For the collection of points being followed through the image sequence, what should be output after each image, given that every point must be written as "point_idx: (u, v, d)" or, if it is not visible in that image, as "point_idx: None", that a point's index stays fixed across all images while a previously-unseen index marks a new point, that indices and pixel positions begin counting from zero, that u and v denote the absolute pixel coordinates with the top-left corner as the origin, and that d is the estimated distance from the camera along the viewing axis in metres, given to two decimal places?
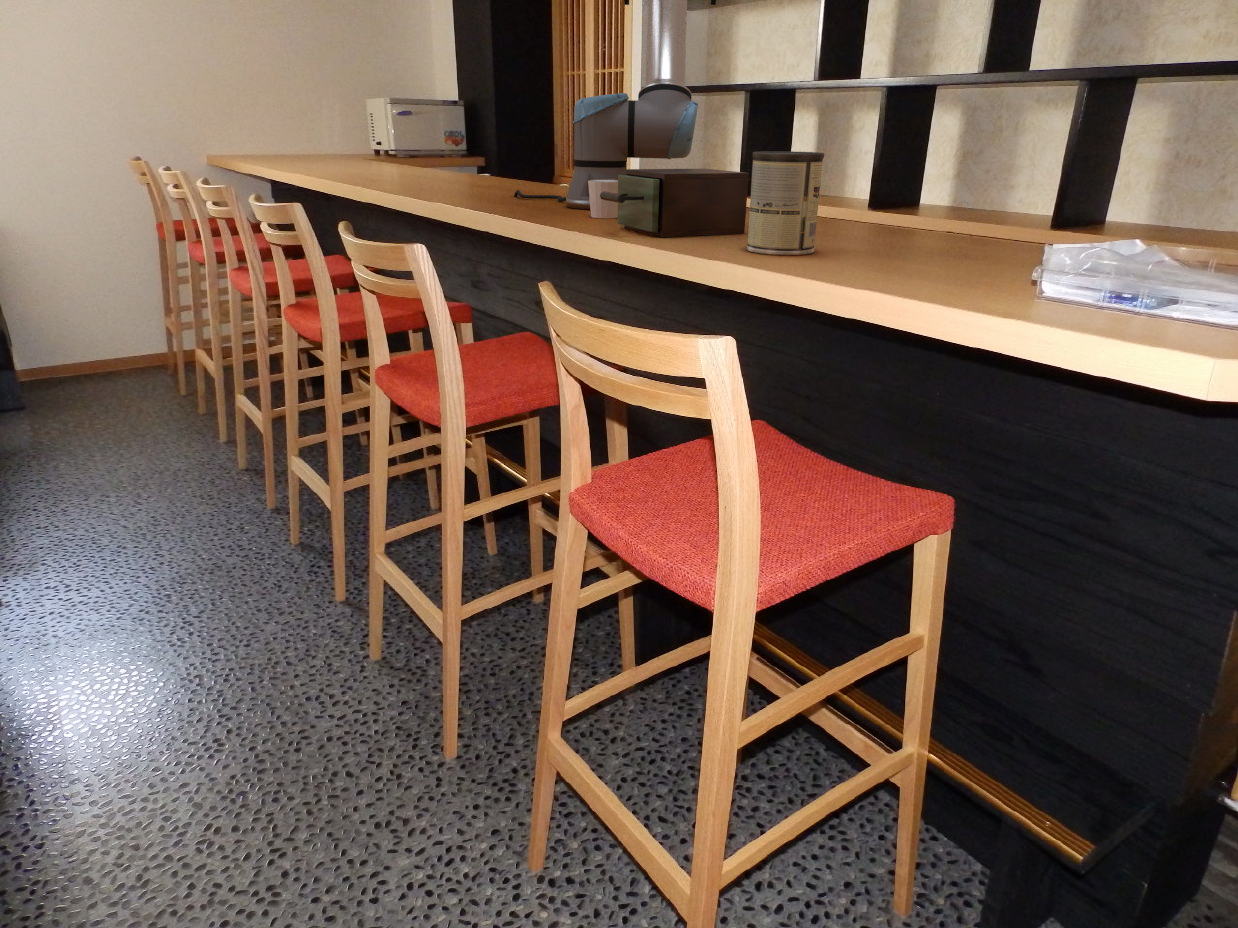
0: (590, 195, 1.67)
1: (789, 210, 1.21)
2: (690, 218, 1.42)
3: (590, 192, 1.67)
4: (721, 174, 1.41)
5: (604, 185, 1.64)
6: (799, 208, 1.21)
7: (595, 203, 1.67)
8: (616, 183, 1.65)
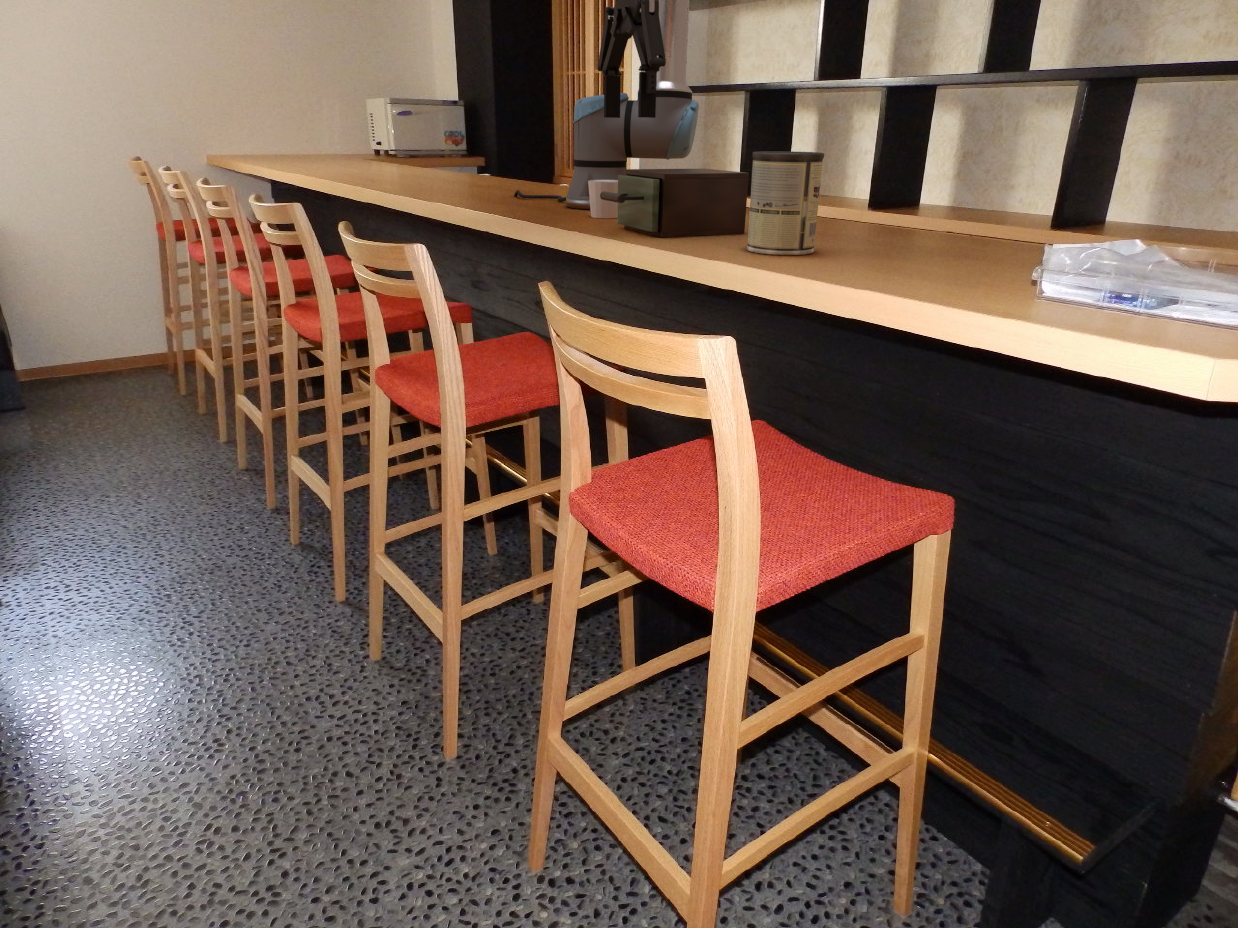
0: (590, 195, 1.67)
1: (789, 210, 1.21)
2: (690, 218, 1.42)
3: (590, 192, 1.67)
4: (721, 174, 1.41)
5: (604, 185, 1.64)
6: (799, 208, 1.21)
7: (595, 203, 1.67)
8: (616, 183, 1.65)
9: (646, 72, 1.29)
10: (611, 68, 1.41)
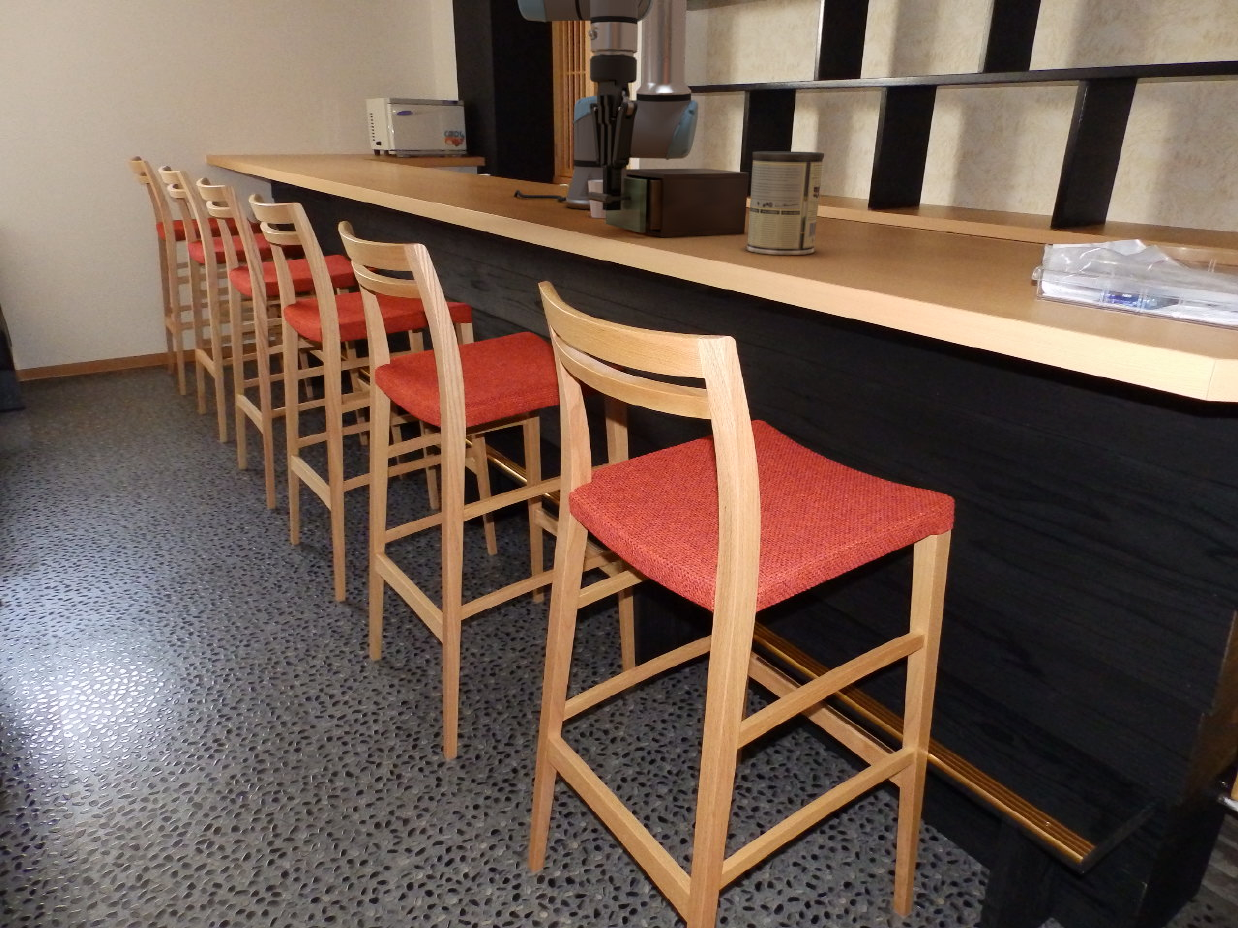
0: None
1: (789, 210, 1.21)
2: (690, 218, 1.42)
3: None
4: (721, 174, 1.41)
5: None
6: (799, 208, 1.21)
7: (595, 203, 1.67)
8: None
9: None
10: None
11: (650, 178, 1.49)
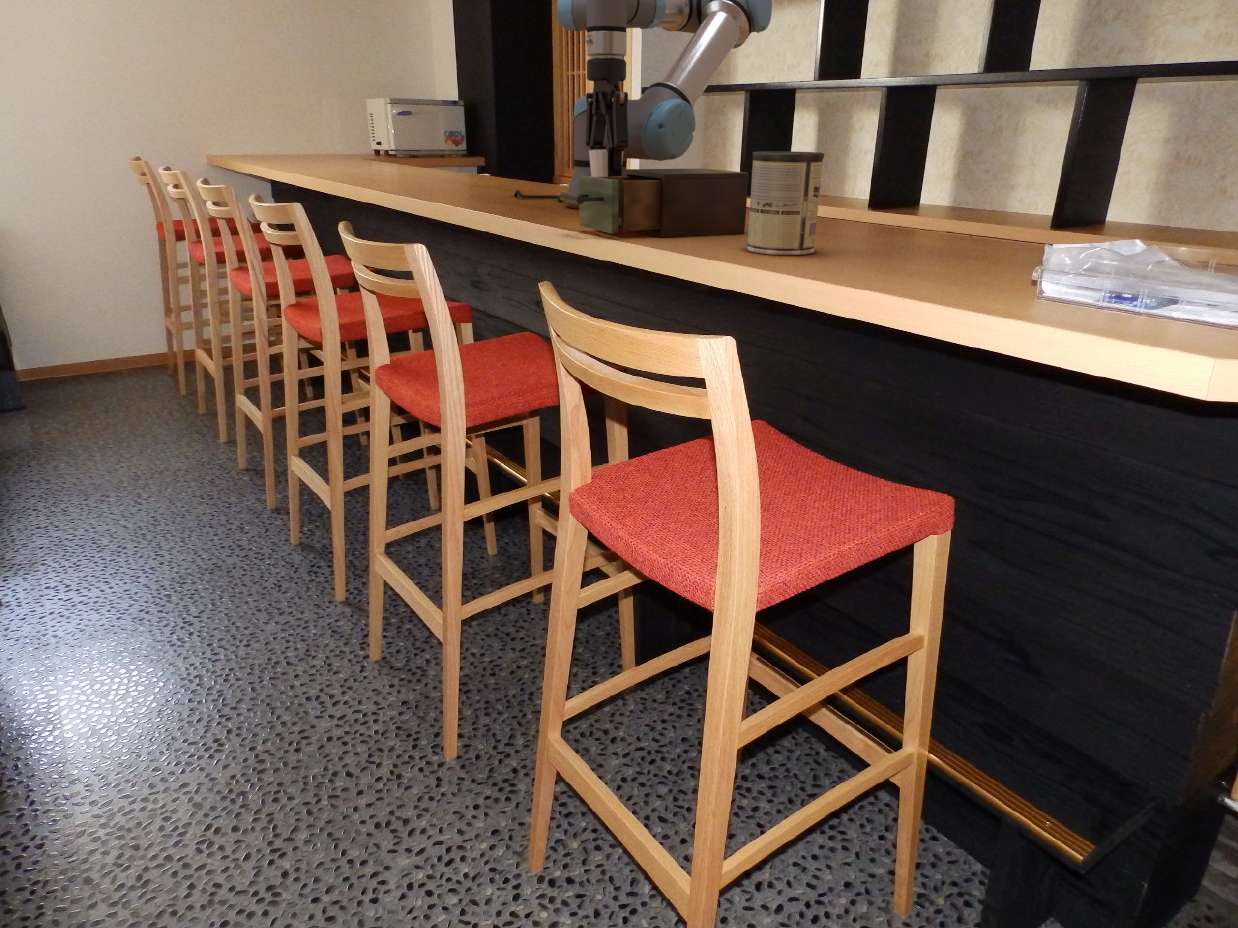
0: (591, 165, 1.65)
1: (789, 210, 1.21)
2: (690, 218, 1.42)
3: (591, 162, 1.65)
4: (721, 174, 1.41)
5: (606, 154, 1.62)
6: (799, 208, 1.21)
7: (596, 173, 1.65)
8: None
9: (612, 152, 1.62)
10: (597, 144, 1.69)
11: (624, 178, 1.47)
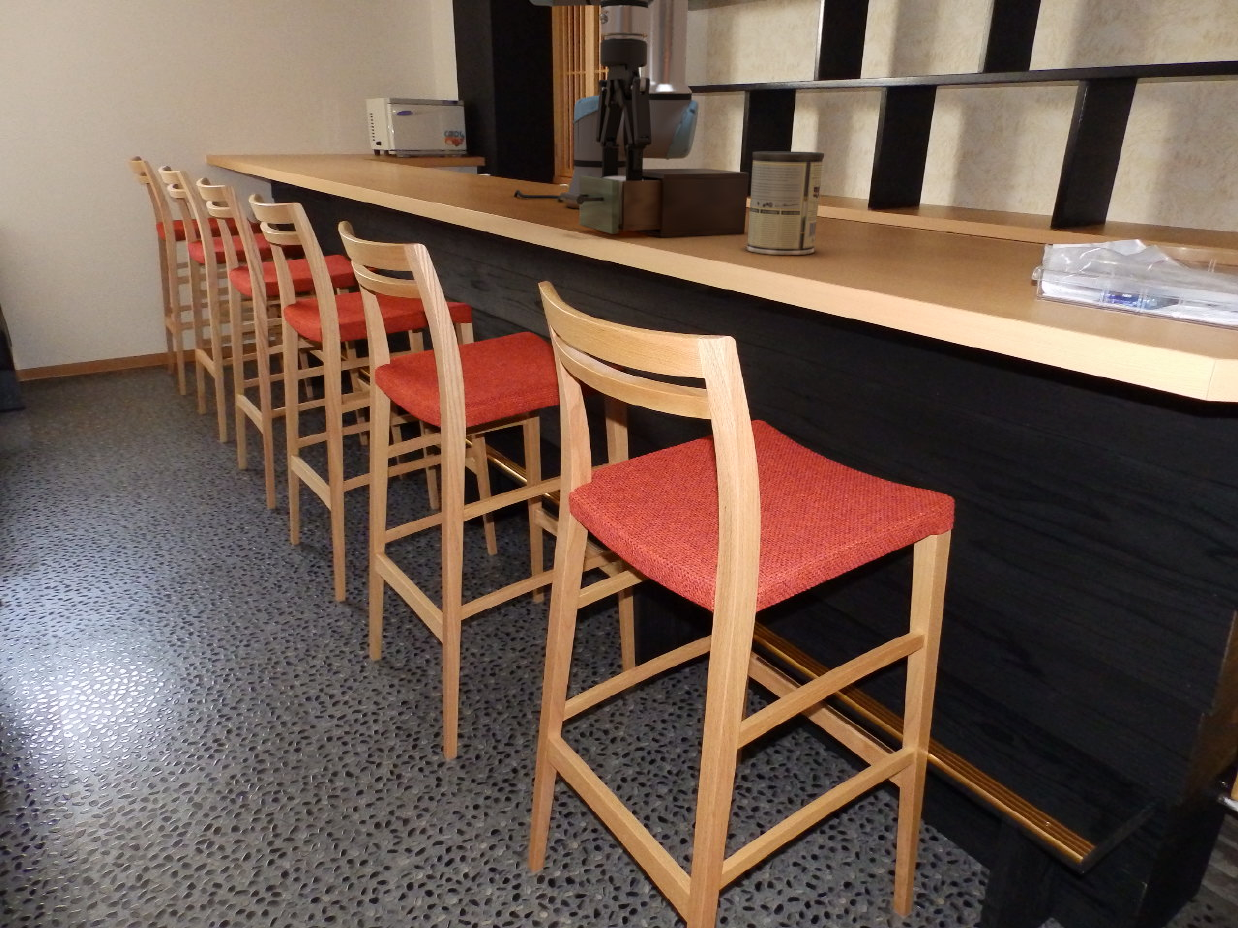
0: None
1: (789, 210, 1.21)
2: (690, 218, 1.42)
3: None
4: (721, 174, 1.41)
5: None
6: (799, 208, 1.21)
7: None
8: None
9: (632, 149, 1.35)
10: (609, 140, 1.43)
11: None
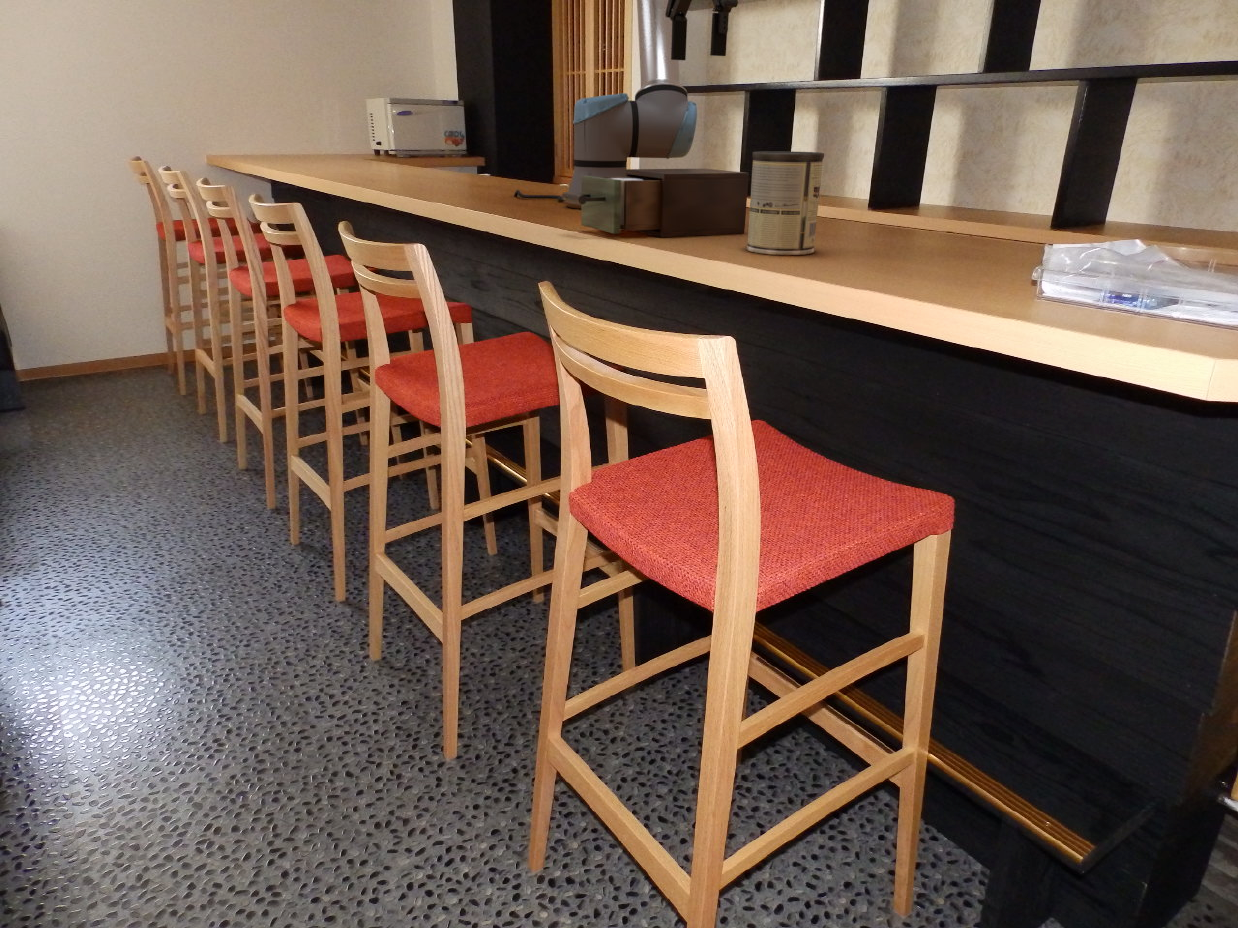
0: None
1: (789, 210, 1.21)
2: (690, 218, 1.42)
3: None
4: (721, 174, 1.41)
5: None
6: (799, 208, 1.21)
7: None
8: None
9: (719, 13, 1.42)
10: (678, 14, 1.55)
11: None
